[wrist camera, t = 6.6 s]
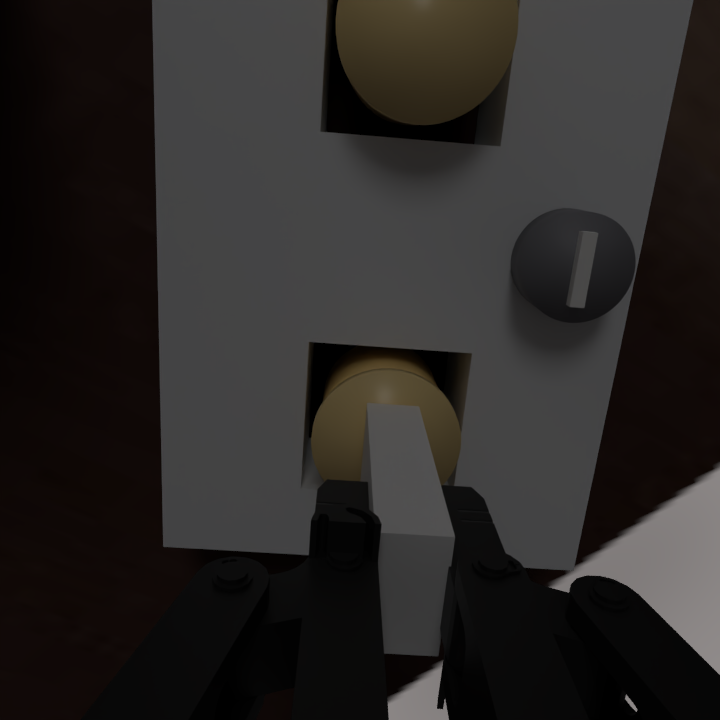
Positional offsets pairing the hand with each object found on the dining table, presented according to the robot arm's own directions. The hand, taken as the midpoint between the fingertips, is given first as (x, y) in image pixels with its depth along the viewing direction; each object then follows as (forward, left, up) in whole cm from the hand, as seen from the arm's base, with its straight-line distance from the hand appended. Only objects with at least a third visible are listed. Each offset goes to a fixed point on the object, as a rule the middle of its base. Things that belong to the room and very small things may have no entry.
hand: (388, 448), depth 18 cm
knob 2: (0, 0, -4) cm, 4 cm away
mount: (0, +6, -6) cm, 8 cm away
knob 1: (0, +11, -4) cm, 12 cm away
